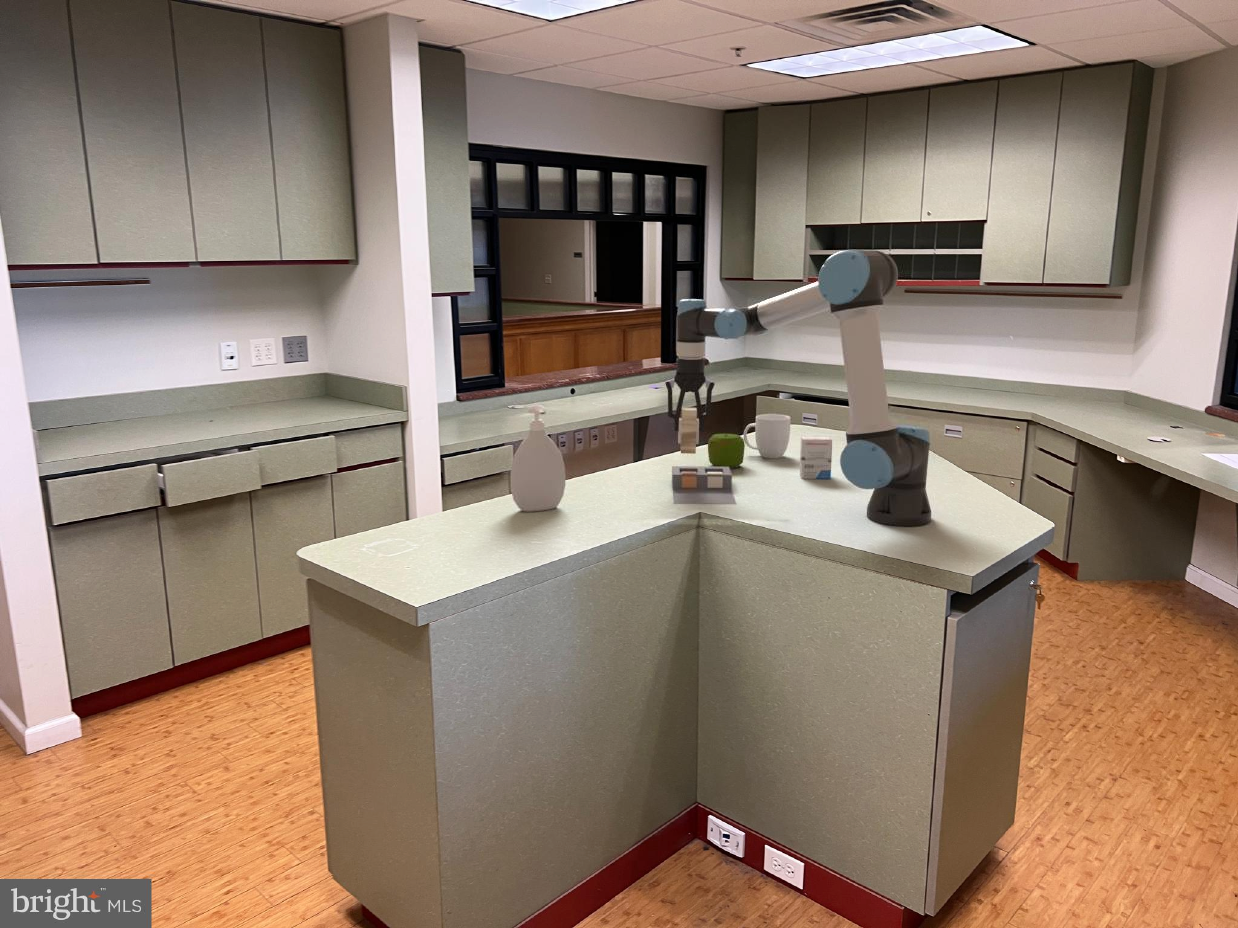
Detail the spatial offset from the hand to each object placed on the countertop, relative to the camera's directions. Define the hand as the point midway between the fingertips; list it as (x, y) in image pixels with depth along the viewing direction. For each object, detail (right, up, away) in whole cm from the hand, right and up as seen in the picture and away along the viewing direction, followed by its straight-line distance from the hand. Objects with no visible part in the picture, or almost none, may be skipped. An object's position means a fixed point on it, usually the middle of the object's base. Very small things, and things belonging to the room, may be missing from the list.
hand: (688, 442), depth 241 cm
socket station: (+3, -14, -4) cm, 15 cm away
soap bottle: (-39, -18, -18) cm, 47 cm away
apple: (+14, -7, +30) cm, 33 cm away
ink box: (+38, -10, +16) cm, 43 cm away
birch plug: (0, -3, +1) cm, 3 cm away
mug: (+29, -4, +44) cm, 53 cm away
